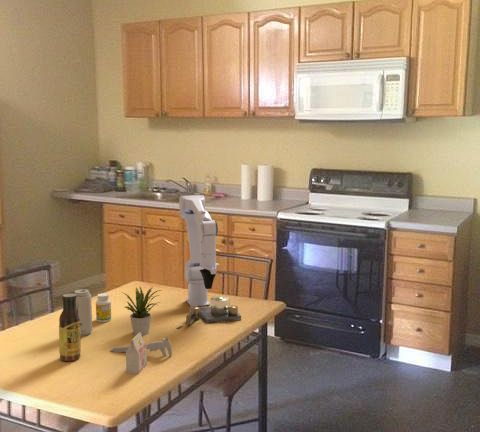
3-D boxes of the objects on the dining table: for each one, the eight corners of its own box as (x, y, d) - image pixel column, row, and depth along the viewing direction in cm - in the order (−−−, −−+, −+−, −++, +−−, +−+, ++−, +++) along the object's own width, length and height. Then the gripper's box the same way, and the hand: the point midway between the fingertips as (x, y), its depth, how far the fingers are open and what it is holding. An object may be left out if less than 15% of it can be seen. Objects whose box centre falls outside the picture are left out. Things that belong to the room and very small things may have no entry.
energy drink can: (70, 333, 198) (69, 291, 195) (86, 329, 202) (84, 287, 200) (80, 337, 194) (78, 294, 191) (95, 333, 198) (94, 290, 196)
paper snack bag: (126, 373, 166) (125, 339, 165) (135, 363, 173) (134, 331, 171) (138, 374, 165) (137, 340, 164) (146, 364, 172) (146, 332, 170)
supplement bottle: (112, 321, 210) (111, 295, 209) (97, 323, 208) (96, 297, 207) (109, 317, 215) (109, 292, 214) (95, 318, 213) (94, 293, 211)
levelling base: (167, 314, 218) (166, 296, 217) (229, 308, 226) (229, 291, 225) (176, 329, 202) (176, 310, 201) (243, 321, 210) (243, 303, 209)
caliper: (172, 356, 179) (171, 337, 178) (170, 358, 178) (170, 338, 177) (110, 351, 183) (110, 332, 182) (109, 352, 182) (108, 333, 181)
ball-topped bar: (191, 316, 215) (191, 305, 215) (200, 316, 214) (200, 306, 214) (183, 325, 205) (183, 315, 204) (193, 326, 204) (193, 315, 203)
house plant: (173, 332, 199) (172, 286, 196) (141, 343, 189) (140, 295, 186) (147, 323, 208) (146, 279, 206) (115, 333, 198) (114, 286, 196)
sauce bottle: (69, 364, 172) (66, 299, 169) (55, 359, 175) (52, 296, 172) (86, 356, 178) (83, 294, 175) (72, 352, 181) (69, 291, 178)
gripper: (224, 256, 208) (224, 292, 210) (212, 248, 222) (212, 282, 224) (205, 257, 206) (206, 294, 208) (195, 249, 220) (195, 284, 222)
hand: (208, 288), depth 216 cm, fingers closed
